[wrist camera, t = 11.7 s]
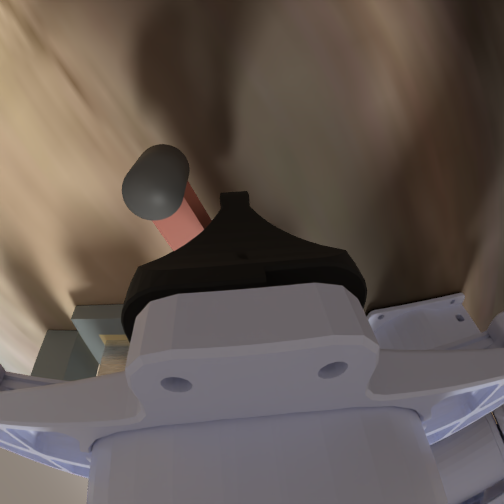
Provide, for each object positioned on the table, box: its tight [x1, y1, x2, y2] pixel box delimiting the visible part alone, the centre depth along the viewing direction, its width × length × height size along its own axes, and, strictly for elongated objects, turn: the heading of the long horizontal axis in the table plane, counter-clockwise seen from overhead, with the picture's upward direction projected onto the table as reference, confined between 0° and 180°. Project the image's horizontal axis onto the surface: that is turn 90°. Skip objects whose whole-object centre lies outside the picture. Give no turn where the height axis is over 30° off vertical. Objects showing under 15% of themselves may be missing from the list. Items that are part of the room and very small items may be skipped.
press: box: [31, 304, 128, 381], centre depth 16 cm, size 18×10×9 cm, turn 92°
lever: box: [122, 144, 212, 251], centre depth 13 cm, size 3×14×2 cm, turn 24°
